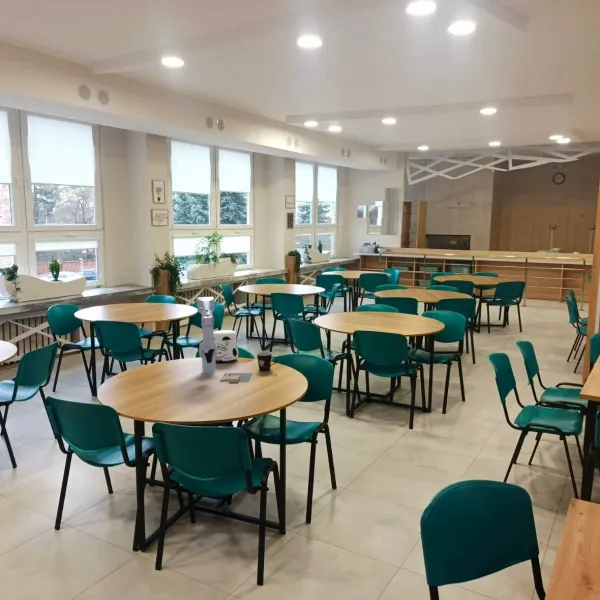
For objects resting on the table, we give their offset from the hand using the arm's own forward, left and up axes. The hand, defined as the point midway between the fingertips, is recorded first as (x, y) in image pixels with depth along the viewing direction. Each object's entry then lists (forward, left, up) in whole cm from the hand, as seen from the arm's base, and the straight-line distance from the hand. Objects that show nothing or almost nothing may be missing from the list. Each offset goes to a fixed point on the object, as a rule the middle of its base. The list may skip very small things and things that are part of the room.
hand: (209, 362), depth 299 cm
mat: (-4, +14, -10) cm, 18 cm away
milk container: (-44, 0, -10) cm, 45 cm away
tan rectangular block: (-1, +14, -8) cm, 16 cm away
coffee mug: (-19, +29, -10) cm, 36 cm away
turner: (-5, +8, -10) cm, 14 cm away
